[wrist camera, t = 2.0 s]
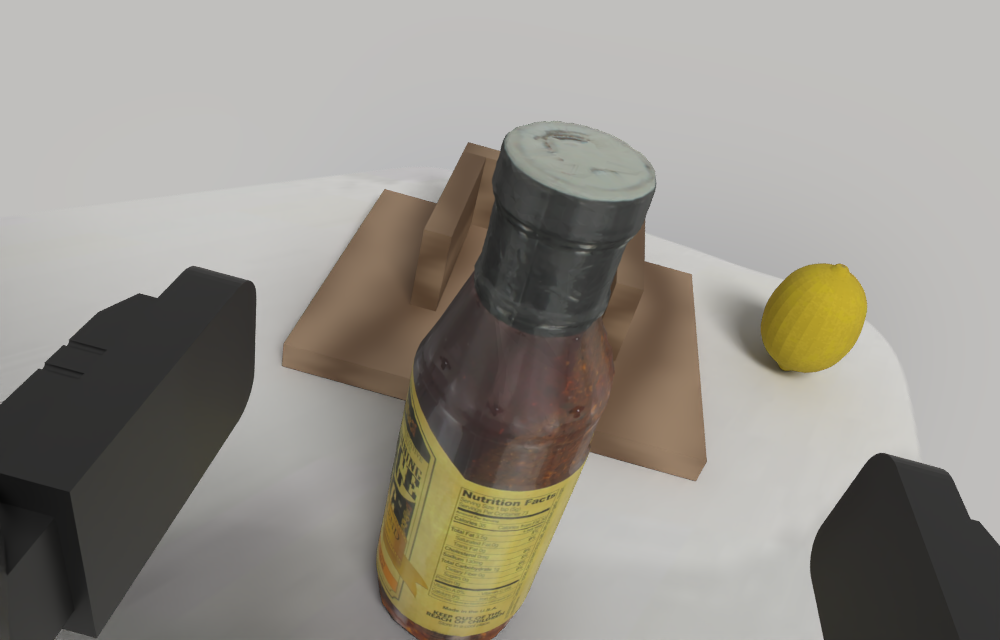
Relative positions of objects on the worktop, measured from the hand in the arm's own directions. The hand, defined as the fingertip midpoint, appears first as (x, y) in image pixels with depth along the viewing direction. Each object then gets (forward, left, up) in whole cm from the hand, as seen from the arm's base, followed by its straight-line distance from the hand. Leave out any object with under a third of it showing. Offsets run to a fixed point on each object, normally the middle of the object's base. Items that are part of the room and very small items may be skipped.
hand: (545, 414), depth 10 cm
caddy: (0, +30, -21) cm, 37 cm away
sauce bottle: (0, +11, -21) cm, 24 cm away
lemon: (+17, +33, -21) cm, 43 cm away
